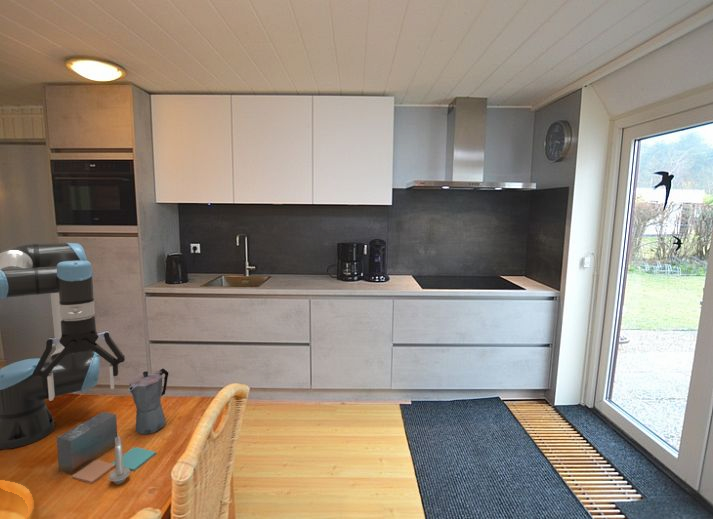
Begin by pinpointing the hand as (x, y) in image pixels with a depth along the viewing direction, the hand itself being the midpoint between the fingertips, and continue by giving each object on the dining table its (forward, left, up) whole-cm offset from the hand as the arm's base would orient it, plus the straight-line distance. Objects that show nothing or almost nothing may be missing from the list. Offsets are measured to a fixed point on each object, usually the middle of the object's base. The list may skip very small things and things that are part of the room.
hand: (83, 392), depth 102 cm
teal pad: (+10, +6, -22) cm, 25 cm away
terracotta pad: (+4, -2, -22) cm, 22 cm away
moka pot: (+2, +21, -22) cm, 30 cm away
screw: (+14, -2, -22) cm, 26 cm away
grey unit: (-3, +3, -22) cm, 22 cm away
